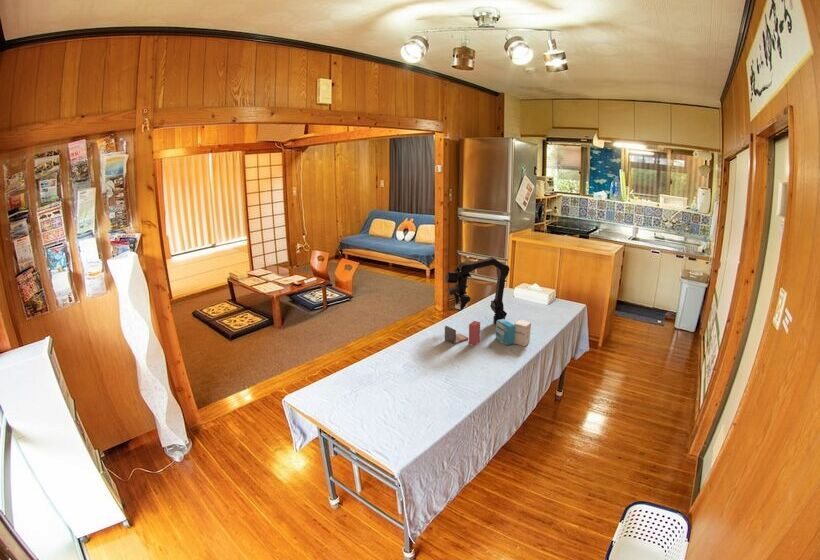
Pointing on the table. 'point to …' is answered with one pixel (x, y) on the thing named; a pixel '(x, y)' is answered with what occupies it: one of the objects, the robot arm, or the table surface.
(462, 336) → the tan flat rectangular slab
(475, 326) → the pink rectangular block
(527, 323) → the supplement box
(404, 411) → the table surface
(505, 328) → the data package
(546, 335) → the table surface
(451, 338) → the metal bookend
